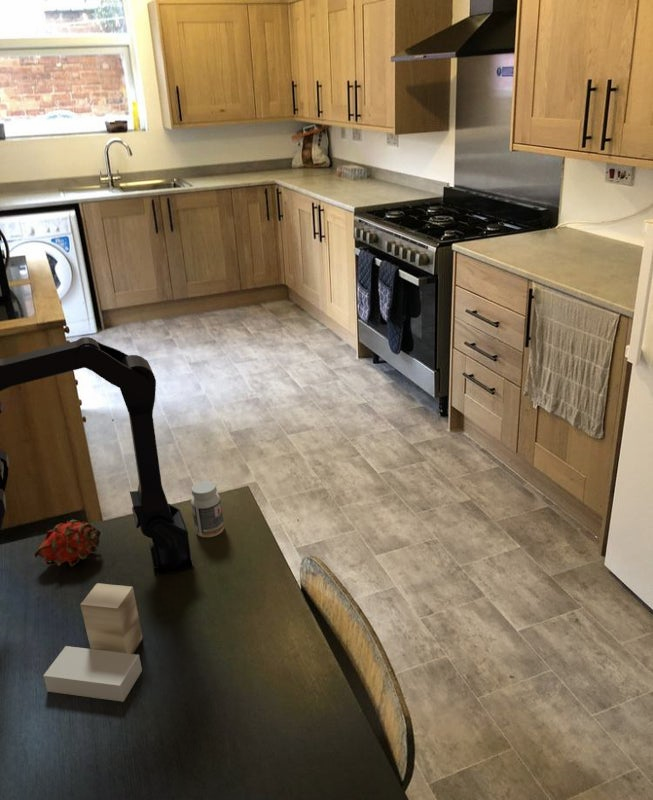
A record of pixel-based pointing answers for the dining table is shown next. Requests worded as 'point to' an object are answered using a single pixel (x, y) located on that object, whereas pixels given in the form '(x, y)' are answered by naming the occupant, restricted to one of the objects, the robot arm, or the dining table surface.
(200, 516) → the pill bottle
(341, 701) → the dining table surface
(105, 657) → the grey plinth
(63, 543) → the dragon fruit
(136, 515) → the robot arm
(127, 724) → the dining table surface
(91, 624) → the birch block
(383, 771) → the dining table surface
